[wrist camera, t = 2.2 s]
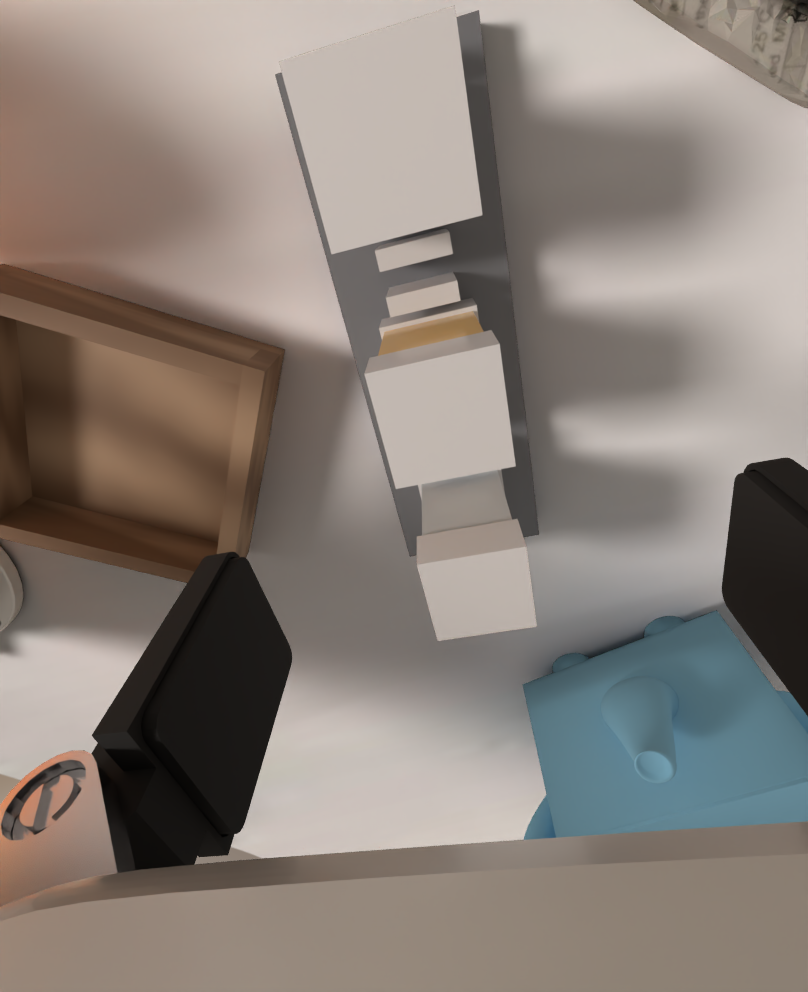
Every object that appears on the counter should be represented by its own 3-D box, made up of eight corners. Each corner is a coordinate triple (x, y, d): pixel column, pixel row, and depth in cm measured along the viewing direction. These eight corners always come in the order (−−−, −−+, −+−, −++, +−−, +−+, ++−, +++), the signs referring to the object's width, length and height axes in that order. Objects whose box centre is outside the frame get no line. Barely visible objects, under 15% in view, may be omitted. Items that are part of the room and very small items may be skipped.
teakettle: (486, 730, 42) (516, 957, 30) (567, 559, 33) (661, 783, 20) (693, 761, 44) (806, 989, 31) (827, 606, 34) (1067, 843, 22)
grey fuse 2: (505, 515, 29) (536, 626, 22) (432, 528, 30) (437, 641, 22) (495, 449, 27) (526, 546, 19) (417, 464, 28) (416, 564, 20)
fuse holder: (533, 521, 31) (550, 565, 27) (410, 542, 32) (409, 588, 28) (474, 22, 20) (488, -22, 16) (283, 82, 21) (253, 54, 17)
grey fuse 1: (459, 211, 22) (482, 215, 14) (361, 237, 22) (331, 254, 14) (440, 85, 19) (455, 5, 12) (332, 117, 20) (278, 61, 12)
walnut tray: (248, 552, 33) (228, 592, 30) (27, 497, 31) (-22, 533, 28) (284, 349, 26) (264, 371, 23) (4, 264, 24) (-64, 273, 21)
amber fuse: (485, 386, 25) (515, 466, 18) (402, 404, 26) (395, 488, 18) (472, 297, 23) (499, 344, 16) (381, 319, 24) (364, 373, 16)
